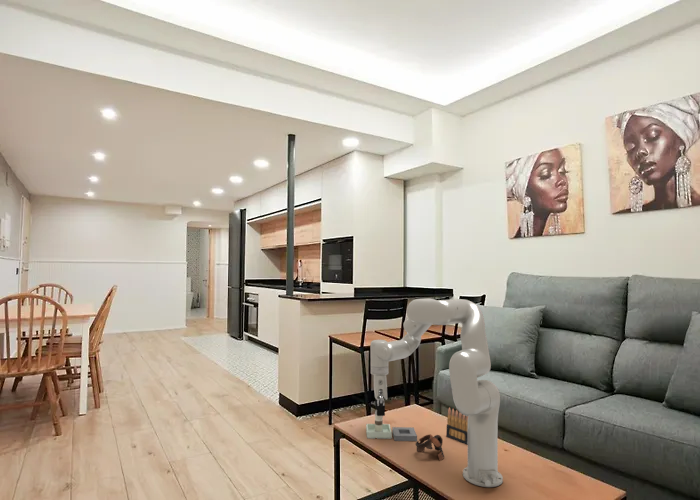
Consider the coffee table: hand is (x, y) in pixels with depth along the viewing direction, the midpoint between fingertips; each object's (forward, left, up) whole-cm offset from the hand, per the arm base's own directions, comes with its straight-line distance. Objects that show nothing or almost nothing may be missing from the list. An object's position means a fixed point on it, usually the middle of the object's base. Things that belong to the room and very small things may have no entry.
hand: (380, 411), depth 170 cm
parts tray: (+1, 0, -9) cm, 9 cm away
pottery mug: (-18, -18, -10) cm, 27 cm away
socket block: (-1, -10, -9) cm, 14 cm away
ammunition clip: (-4, -32, -10) cm, 33 cm away
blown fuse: (+1, 0, -9) cm, 9 cm away
